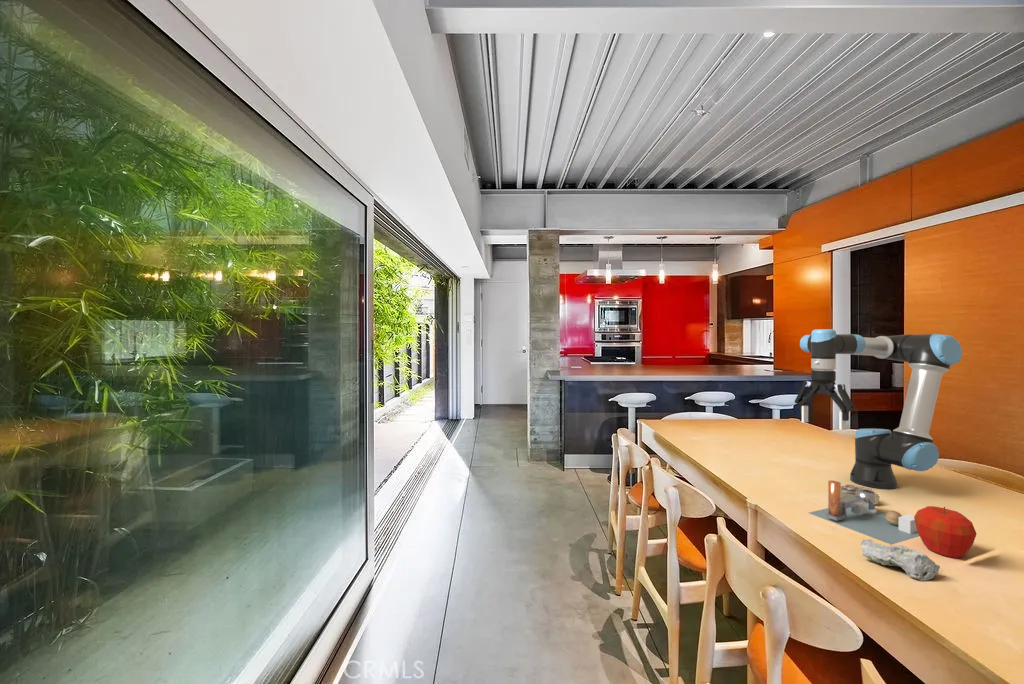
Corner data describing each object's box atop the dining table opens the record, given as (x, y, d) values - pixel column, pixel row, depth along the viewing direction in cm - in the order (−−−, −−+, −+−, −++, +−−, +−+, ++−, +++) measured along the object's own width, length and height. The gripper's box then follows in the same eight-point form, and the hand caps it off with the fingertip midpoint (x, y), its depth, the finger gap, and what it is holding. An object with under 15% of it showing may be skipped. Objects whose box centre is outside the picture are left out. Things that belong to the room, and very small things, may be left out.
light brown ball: (890, 520, 139) (890, 507, 139) (906, 526, 135) (906, 512, 135) (882, 523, 137) (882, 509, 137) (898, 528, 133) (898, 515, 133)
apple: (902, 544, 125) (902, 498, 125) (943, 545, 125) (944, 498, 125) (944, 567, 113) (944, 515, 113) (989, 567, 113) (990, 516, 112)
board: (851, 505, 154) (851, 491, 154) (937, 534, 132) (937, 517, 132) (807, 516, 146) (807, 501, 145) (890, 548, 123) (891, 531, 123)
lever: (861, 506, 149) (861, 472, 149) (881, 512, 143) (881, 477, 143) (823, 515, 141) (823, 480, 141) (843, 523, 135) (843, 486, 135)
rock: (882, 494, 149) (869, 481, 159) (844, 491, 153) (833, 478, 162) (881, 513, 150) (867, 498, 160) (843, 509, 154) (832, 495, 163)
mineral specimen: (857, 564, 115) (857, 539, 115) (861, 554, 120) (861, 531, 120) (938, 588, 104) (938, 561, 104) (938, 576, 109) (938, 550, 109)
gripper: (784, 368, 169) (784, 420, 169) (853, 372, 145) (853, 433, 146) (797, 367, 171) (797, 418, 172) (867, 372, 148) (867, 431, 148)
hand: (823, 425), depth 159 cm, fingers open, 13 cm apart
